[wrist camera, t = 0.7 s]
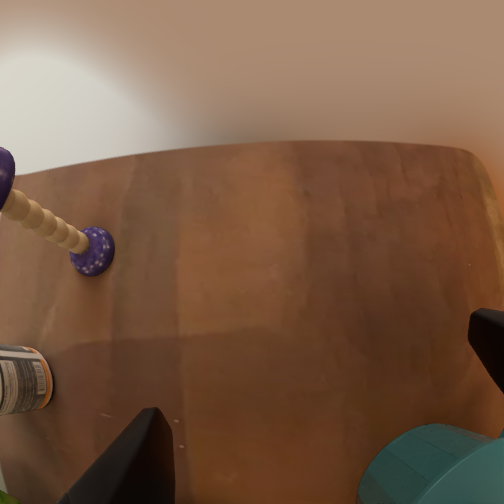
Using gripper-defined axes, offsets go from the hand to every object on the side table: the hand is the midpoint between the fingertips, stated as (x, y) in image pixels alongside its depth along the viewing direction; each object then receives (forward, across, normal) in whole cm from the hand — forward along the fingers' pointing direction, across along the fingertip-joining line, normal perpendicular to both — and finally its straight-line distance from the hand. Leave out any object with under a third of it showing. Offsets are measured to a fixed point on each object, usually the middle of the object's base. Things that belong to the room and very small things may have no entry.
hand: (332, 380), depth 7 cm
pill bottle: (+13, +22, +7) cm, 27 cm away
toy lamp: (+19, +14, -1) cm, 23 cm away
